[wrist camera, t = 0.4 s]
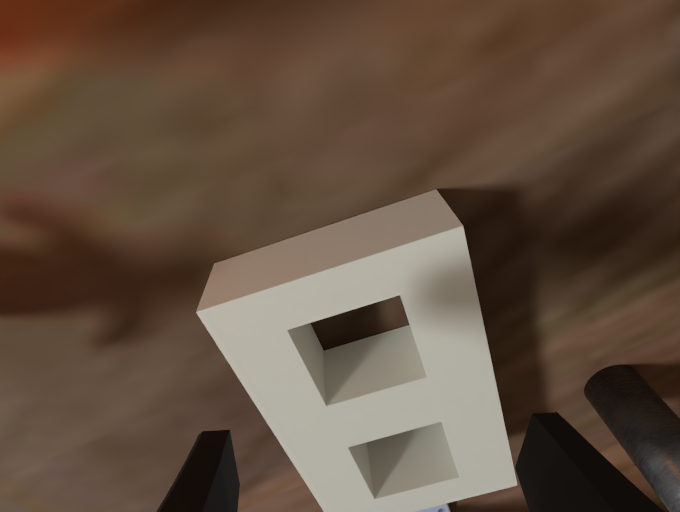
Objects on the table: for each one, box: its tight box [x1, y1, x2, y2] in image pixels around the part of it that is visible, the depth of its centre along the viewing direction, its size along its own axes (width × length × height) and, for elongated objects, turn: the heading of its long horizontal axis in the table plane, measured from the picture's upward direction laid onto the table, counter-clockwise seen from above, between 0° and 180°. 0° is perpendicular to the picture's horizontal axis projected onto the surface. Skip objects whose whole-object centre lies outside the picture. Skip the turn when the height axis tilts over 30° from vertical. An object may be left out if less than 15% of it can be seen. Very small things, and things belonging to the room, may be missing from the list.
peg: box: [584, 365, 680, 512], centre depth 20 cm, size 3×3×9 cm
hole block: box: [196, 189, 517, 512], centre depth 20 cm, size 16×10×4 cm, turn 19°
